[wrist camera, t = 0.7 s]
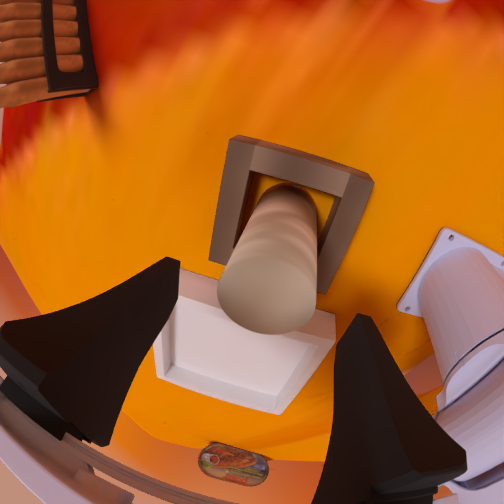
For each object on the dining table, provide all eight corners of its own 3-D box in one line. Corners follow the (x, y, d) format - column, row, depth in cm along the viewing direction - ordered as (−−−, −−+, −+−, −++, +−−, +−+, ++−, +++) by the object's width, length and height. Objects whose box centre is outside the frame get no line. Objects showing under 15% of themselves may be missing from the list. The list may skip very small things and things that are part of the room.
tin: (272, 457, 47) (265, 490, 40) (266, 459, 49) (259, 490, 42) (206, 437, 46) (194, 471, 39) (202, 440, 48) (191, 472, 41)
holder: (368, 173, 16) (374, 182, 14) (324, 277, 21) (325, 294, 19) (238, 134, 16) (229, 139, 15) (216, 246, 21) (208, 260, 19)
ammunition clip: (99, 87, 16) (-39, 120, 6) (83, 96, 16) (-46, 134, 6) (85, -11, 11) (-30, -19, 1) (70, 0, 11) (-42, 0, 1)
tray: (335, 314, 22) (335, 340, 20) (283, 394, 30) (280, 415, 28) (165, 263, 23) (149, 284, 20) (166, 358, 31) (157, 377, 29)
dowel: (324, 193, 17) (331, 276, 10) (306, 244, 19) (297, 343, 12) (264, 175, 17) (224, 244, 10) (251, 228, 20) (211, 318, 12)
